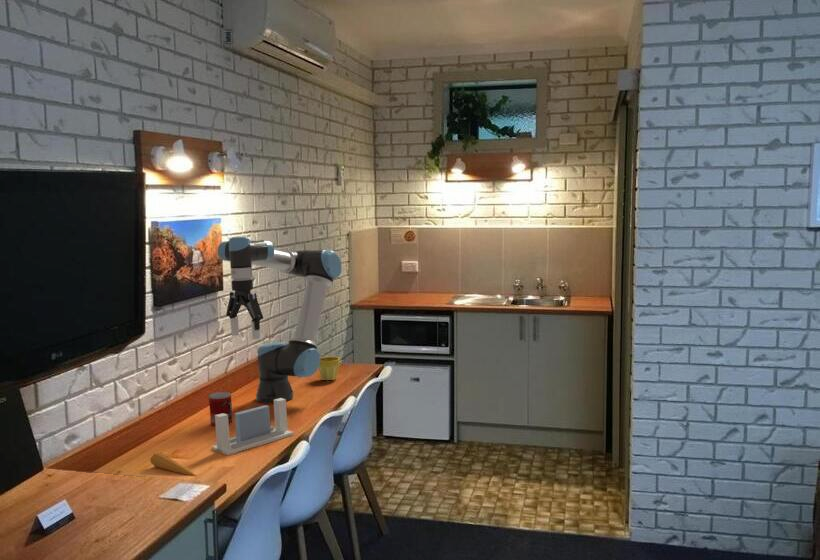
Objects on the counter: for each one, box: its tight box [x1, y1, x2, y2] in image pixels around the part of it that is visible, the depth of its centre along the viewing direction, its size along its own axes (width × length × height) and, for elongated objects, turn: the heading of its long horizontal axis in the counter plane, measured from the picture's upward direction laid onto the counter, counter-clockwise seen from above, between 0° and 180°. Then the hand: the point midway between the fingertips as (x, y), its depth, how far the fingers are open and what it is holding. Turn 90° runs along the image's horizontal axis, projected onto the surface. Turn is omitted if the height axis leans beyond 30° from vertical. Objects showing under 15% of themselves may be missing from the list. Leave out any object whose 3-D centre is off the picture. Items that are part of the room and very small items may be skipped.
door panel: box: [234, 405, 271, 443], centre depth 243 cm, size 12×2×10 cm, turn 136°
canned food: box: [208, 391, 233, 427], centre depth 265 cm, size 8×8×11 cm
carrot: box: [150, 452, 196, 476], centre depth 218 cm, size 20×4×4 cm, turn 58°
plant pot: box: [318, 356, 341, 380], centre depth 328 cm, size 10×10×10 cm
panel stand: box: [211, 398, 295, 456], centre depth 242 cm, size 26×10×12 cm, turn 136°
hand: (245, 337), depth 264 cm, fingers open, 13 cm apart
